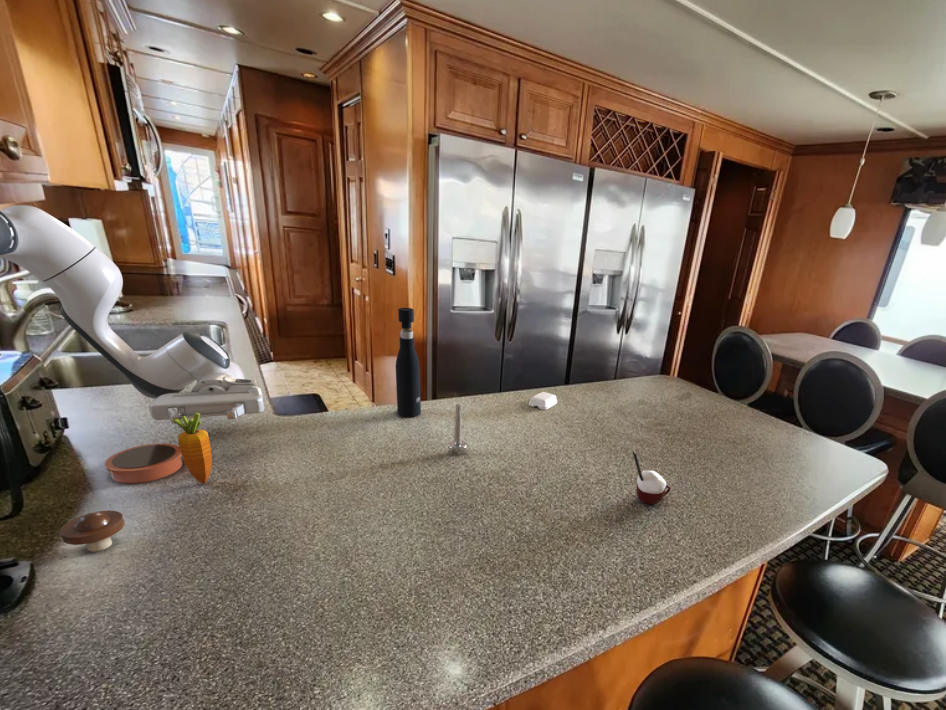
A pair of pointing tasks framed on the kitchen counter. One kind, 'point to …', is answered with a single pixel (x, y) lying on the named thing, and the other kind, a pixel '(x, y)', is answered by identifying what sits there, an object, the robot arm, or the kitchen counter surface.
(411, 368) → the black water bottle
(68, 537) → the mushroom
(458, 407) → the screw
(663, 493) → the cocoa
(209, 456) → the carrot
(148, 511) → the kitchen counter surface
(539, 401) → the soap
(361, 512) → the kitchen counter surface
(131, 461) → the pot
